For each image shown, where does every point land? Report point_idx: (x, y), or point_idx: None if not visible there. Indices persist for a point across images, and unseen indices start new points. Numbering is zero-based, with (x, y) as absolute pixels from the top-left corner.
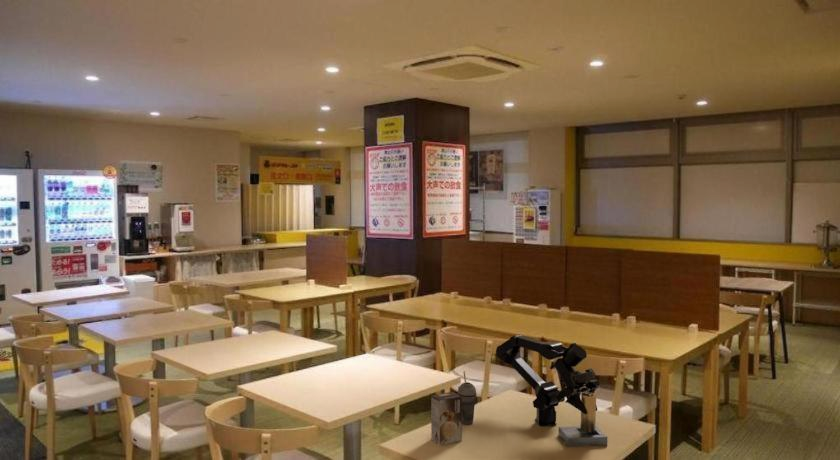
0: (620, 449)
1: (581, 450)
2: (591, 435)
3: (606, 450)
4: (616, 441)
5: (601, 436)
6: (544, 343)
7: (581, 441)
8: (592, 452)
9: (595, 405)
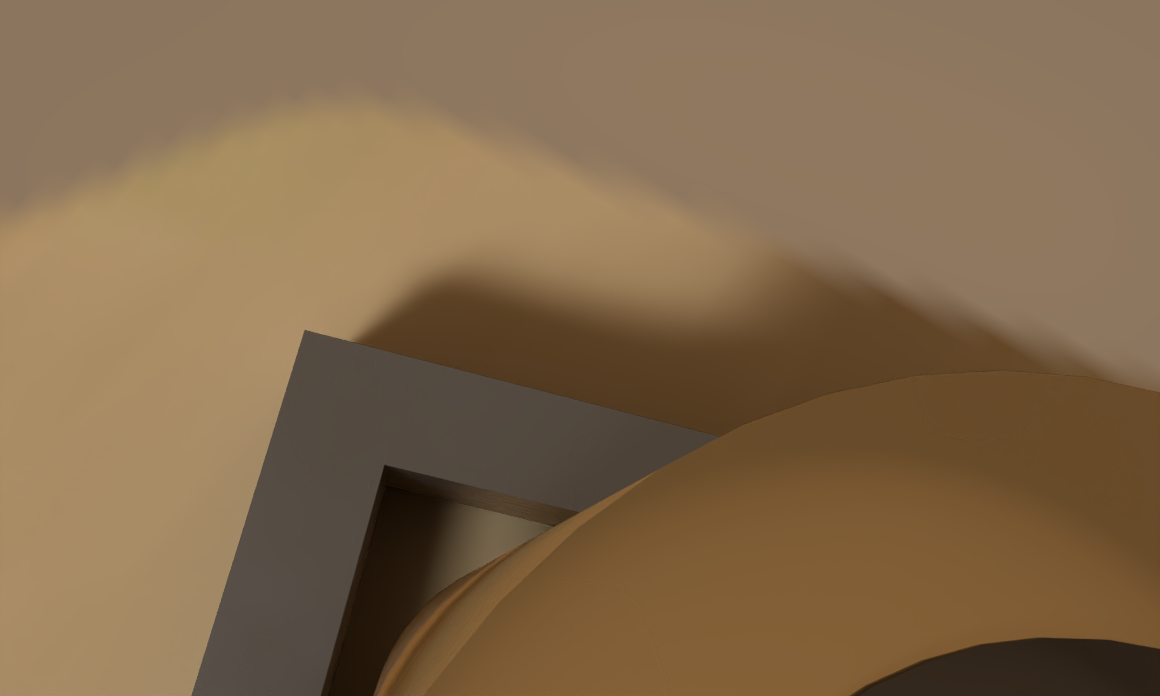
0: (215, 155)
1: (855, 348)
2: (588, 498)
3: (472, 208)
4: (15, 459)
5: (417, 384)
6: None
7: None
8: (731, 228)
9: (518, 548)
